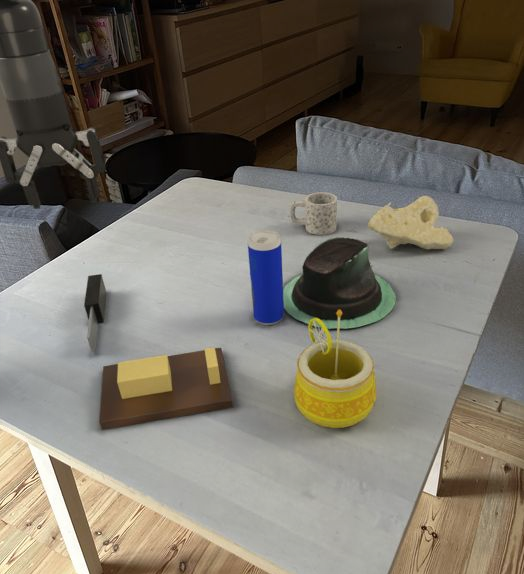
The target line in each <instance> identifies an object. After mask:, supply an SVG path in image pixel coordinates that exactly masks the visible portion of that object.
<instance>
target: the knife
mask: <svg viewBox="0 0 524 574" xmlns="http://www.w3.org/2000/svg"><path fill="white" fill-rule="evenodd" d="M106 302H107V288H106V286H105V282H104V278H103V274H102V273H99V274H92V275H88V276H87V281H86V289H85V296H84V304H83V307H84V309H85V313H86V317H87V319H88V325H87V334H86V339H87V342H88V345H89V348H90V352H91V354H92V356H96V352H97V351H96V350H97V341H98V340H97V339H98V330H99V324H102V323H105V314H106V305H107V303H106Z"/></svg>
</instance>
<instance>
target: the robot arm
mask: <svg viewBox="0 0 524 574" xmlns="http://www.w3.org/2000/svg"><path fill="white" fill-rule="evenodd" d="M43 24H44V23H43V21H42V18H41V14H40V11H39V9H38V7H37V6H36V4H35V2H34V1H32V0H0V87H1V89H2V93H3V97H4V100H5V102H6V106H7V109H8V112H9V114H10V117H11V121H12V124H13V126H14V130H15V133H16V137H15V138H7V137H6V136H0V165H1V168H2V171H3V175H4V178H5V181H6V182H7V183H8V184H18V185H20V186H21V187H22V189H23V192H24V195H25V198H26V201H27V203H28V205H29V206H30V207H32V206H33V209H34V210H39V209H40V208H41V206H42V203H41V202H42V201H41V199H40V196H39V193H38V190H37V186H36V183H35V181H34V180H32V177H33V175H34V173H35V170H36V168H37V166H39V167H42V168H44V169H45V168H49V167H52V166H56V167H57V166H58V167H62V166H66V164H70V165H71V166H72V167H73V168H74V169H76V170H78V171H79V172H80V173H82V174H83V175H84V177H85V180H84V181H85V183H86V187H87V192H88V195H89V197H90V198H89V199H90V202H91V203H96V202H97V199H98V198H100V187H99V183H98V179H97V175H100V174H102V173H105V172H106V166H107V164H106V163H107V162H106V160H105V159H106V158H105V155H104V152H103V149H102V146H101V143H100V138H99V136H98V133H97V129H96V128H95V127H93V126H90V127H88V128H87V129H85V130H80V131H76V129H74V127H73V125H72V122H71V118H70V115H69V110H68V107H67V103H66V99H65V95H64V92H63V88H62V81H61V78H60V76H59V73H58V70H57V67H56V64H55V61H54V58H53V56H52V53H51V50H50V47H49V43H48V39H47V35H46V32H45V28H44V25H43ZM79 141H81V142H82V143H83V145H84V146H85V147H87V148H88V147H89V149H90V152H91V156H92V159H93V162H94V163H92V164H91V162H89V160H87V159H86V158H85V157H84V155H83V154H82V153H81V152H79V150H77V149H76V147H77V144H78V142H79ZM17 148H18V149H19V151H21V152H22V153H23V154H24V155H25V156H27V157H28V160H27V162H26V164H25V167H24V170H23V172H19V171H17V167H16V163H15V160H14V154H15V153H16V149H17Z"/></svg>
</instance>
